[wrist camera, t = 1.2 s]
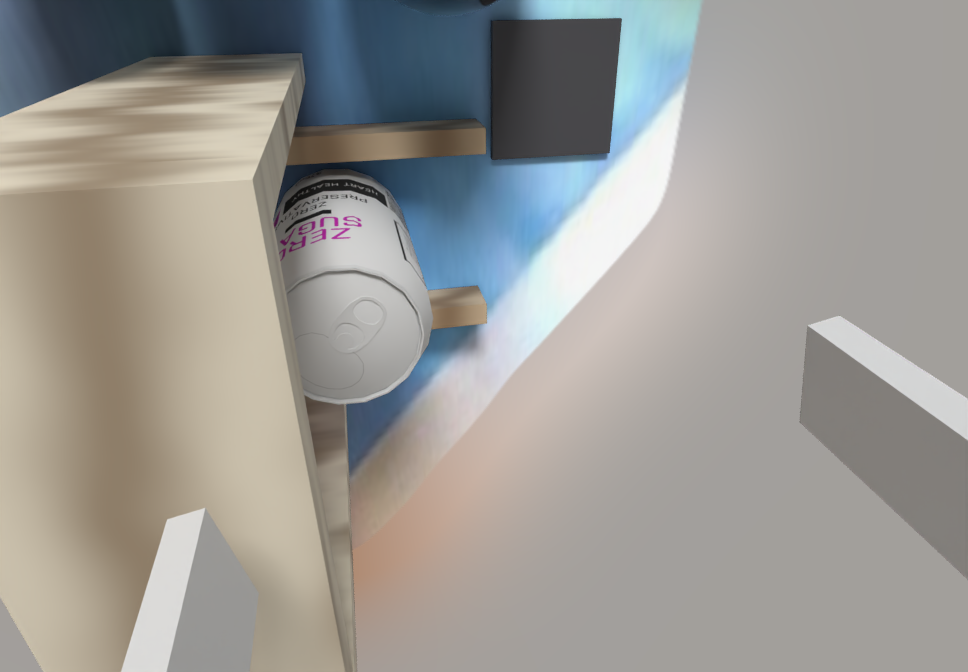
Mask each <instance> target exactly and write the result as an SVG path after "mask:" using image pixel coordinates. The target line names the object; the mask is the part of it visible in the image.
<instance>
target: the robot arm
mask: <svg viewBox="0 0 968 672" xmlns="http://www.w3.org/2000/svg"><path fill="white" fill-rule="evenodd" d="M800 423H801V424H802V425H803V426H804V427H805V428H806V429H807V430H808V431H810V432H811V433H812V434H813V435H814V436H815V437H816V438H817V439H818V440H819V441H820V442H821V443H822V444H824V446H826V447H827V448H828V449H829V450H830V451H831V452H832V453H833V454H834V455H835V456H836V457H837V458H839V459H840V461H842V462H843V463H844V464H845V465H846V466H847V467H848V468H849V469H850V470H852V472H853V473H854V474H856V475H857V476H858V477H859V478H860V479H861V480H862V481H863V482H864V483H865V484H866V485H867V486H868V487H870V489H872V490H873V491H874V492H875V493H876V494H877V495H878V496H879V497H880V498H881V499H882V500H883V501H884V502H885V503H886V504H888V505H889V506H890V507H891V508H892V509H893V510H894V511H895V512H896V513H897V514H898V515H899V516H901V518H903V519H904V520H905V521H906V522H907V523H908V524H909V525H910V526H911V527H912V528H913V529H914V530H915V531H916V532H917V533H919V534H920V535H921V536H922V537H923V538H924V539H925V540H926V541H927V542H928V543H929V544H930V545H931V546H932V547H934V548H935V549H936V550H937V551H938V552H939V553H940V554H941V555H942V556H943V557H944V558H945V559H946V560H947V561H949V562H950V563H951V564H952V565H953V566H954V567H955V568H956V569H957V570H958V571H959V572H960V573H961V574H962V575H963V576H965V577H966V578H967V579H968V399H967V398H965V397H964V396H962V395H961V394H959V393H958V392H956V391H955V390H953V389H951V388H950V387H949V386H947V385H945V384H944V383H942V382H941V381H939V380H938V379H936V378H935V377H933V376H932V375H930V374H928V373H927V372H925V371H924V370H922V369H921V368H919V367H918V366H916V365H915V364H913V363H912V362H910V361H909V360H907V359H906V358H904V357H903V356H901V355H899V354H898V353H896V352H895V351H893V350H892V349H890V348H889V347H887V346H886V345H884V344H883V343H881V342H880V341H878V340H876V339H875V338H873V337H872V336H870V335H869V334H867V333H866V332H864V331H863V330H861V329H860V328H858V327H857V326H855V325H853V324H852V323H850V322H849V321H847V320H846V319H844V318H843V317H841V316H837V317H834V318H830V319H827V320H824V321H820V322H817V323H814V324H810V325H808V326H807V338H806V350H805V362H804V374H803V387H802V399H801V411H800ZM258 595H259V593H258V591H257V589H256V588H255V586H254V585H253V583H252V581H251V580H250V578H249V577H248V575H247V573H246V572H245V570H244V569H243V567H242V565H241V564H240V562H239V561H238V559H237V558H236V556H235V554H234V553H233V551H232V550H231V548H230V546H229V545H228V543H227V542H226V540H225V538H224V537H223V535H222V534H221V532H220V530H219V529H218V527H217V526H216V524H215V522H214V521H213V519H212V518H211V516H210V514H209V513H208V511H207V510H206V508H203V509H200V510H197V511H193V512H190V513H187V514H183V515H180V516H177V517H173V518H170V519H167V522H166V525H165V528H164V532H163V535H162V538H161V541H160V545H159V548H158V551H157V555H156V558H155V561H154V565H153V568H152V571H151V574H150V578H149V581H148V584H147V588H146V591H145V594H144V598H143V601H142V604H141V607H140V611H139V614H138V617H137V621H136V624H135V627H134V630H133V634H132V637H131V640H130V644H129V647H128V650H127V654H126V657H125V660H124V663H123V667H122V670H121V672H250V664H251V656H252V647H253V638H254V630H255V621H256V613H257V604H258Z"/></svg>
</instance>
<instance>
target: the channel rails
mask: <svg viewBox="0 0 968 672" xmlns="http://www.w3.org/2000/svg"><path fill="white" fill-rule="evenodd" d="M476 154H486V128H485V127H484V126H483V125H482V124H481V123H480V122H479V121H478V120H477V119H457V120H435V121H414V122H392V123H371V124H349V125H328V126H307V127H295V129H294V133H293V137H292V142H291V146H290V150H289V154H288V158H287V163H286V165H301V164H318V163H336V162H353V161H371V160H388V159H406V158H423V157H441V156H458V155H476ZM427 291H428V295H429V300H430V305H431V310H432V314H433V322H432V328H431V329H439V328H448V327H458V326H467V325H476V324H485V323H487V304H486V302H485V300H484V298H483V296H482V294H481V292H480V290H479V287H478V286H469V287H458V288H448V289H438V290H427Z"/></svg>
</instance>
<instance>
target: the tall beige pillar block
mask: <svg viewBox="0 0 968 672" xmlns="http://www.w3.org/2000/svg"><path fill="white" fill-rule="evenodd" d="M305 82H306V80H305V73H304V65H303V58H302V53H287V54H248V55H209V56H170V57H149V58H146V59H144V60H142V61H139V62H137V63H134V64H132V65H129V66H127V67H124V68H122V69H119V70H117V71H114V72H112V73H109V74H107V75H104V76H102V77H99V78H97V79H95V80H92V81H90V82H87V83H85V84H82V85H80V86H77V87H75V88H72V89H70V90H67V91H65V92H62V93H60V94H57V95H55V96H52V97H50V98H47V99H45V100H43V101H40V102H38V103H35V104H33V105H30V106H28V107H25V108H23V109H20V110H18V111H15V112H13V113H10V114H8V115H5V116H3V117H0V597H1V599H2V601H3V603H4V604H5V606H6V608H7V609H8V611H9V613H10V615H11V617H12V618H13V620H14V622H15V623H16V625H17V627H18V628H19V630H20V632H21V634H22V636H23V637H24V639H25V641H26V642H27V644H28V646H29V647H30V649H31V651H32V653H33V655H34V656H35V658H36V660H37V661H38V663H39V665H40V667H41V668H42V670H43V672H121V670H122V667H123V663H124V660H125V657H126V654H127V650H128V647H129V644H130V640H131V637H132V634H133V630H134V627H135V624H136V621H137V617H138V614H139V611H140V607H141V604H142V601H143V598H144V594H145V591H146V588H147V584H148V581H149V578H150V574H151V571H152V568H153V565H154V561H155V558H156V555H157V551H158V548H159V545H160V541H161V538H162V535H163V532H164V528H165V525H166V522H167V519H170V518H173V517H177V516H180V515H183V514H187V513H190V512H193V511H197V510H200V509H203V508H206V510H207V511H208V513H209V514H210V516H211V518H212V519H213V521H214V522H215V524H216V526H217V527H218V529H219V530H220V532H221V534H222V535H223V537H224V538H225V540H226V542H227V543H228V545H229V546H230V548H231V550H232V551H233V553H234V554H235V556H236V558H237V559H238V561H239V562H240V564H241V565H242V567H243V569H244V570H245V572H246V573H247V575H248V577H249V578H250V580H251V581H252V583H253V585H254V586H255V588H256V589H257V591H258V593H259V595H258V604H257V613H256V621H255V630H254V638H253V647H252V656H251V664H250V672H357V653H356V628H355V605H354V583H353V557H352V533H351V509H350V485H349V461H348V438H347V414H346V404H341V405H338V404H333V403H328V402H322V401H317V400H313V399H311V398H309V397H307V396H305V395H304V391H303V386H302V380H301V375H300V369H299V363H298V358H297V352H296V347H295V341H294V335H293V330H292V324H291V318H290V313H289V307H288V302H287V296H286V290H285V285H284V279H283V274H282V268H281V262H280V257H279V251H278V246H277V240H276V234H275V229H274V223H273V218H274V213H275V209H276V205H277V201H278V197H279V192H280V188H281V184H282V180H283V175H284V171H285V167H286V163H287V158H288V154H289V150H290V146H291V142H292V137H293V133H294V129H295V125H296V120H297V116H298V112H299V108H300V103H301V99H302V95H303V91H304V87H305Z"/></svg>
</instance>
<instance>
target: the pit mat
mask: <svg viewBox="0 0 968 672" xmlns="http://www.w3.org/2000/svg"><path fill="white" fill-rule="evenodd" d="M621 21H622V19H621V18H609V19H552V20H495V21H491V159H492V160H497V159H514V158H531V157H548V156H565V155H582V154H599V153H610V142H611V131H612V120H613V109H614V98H615V87H616V76H617V65H618V54H619V43H620V32H621Z"/></svg>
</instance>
